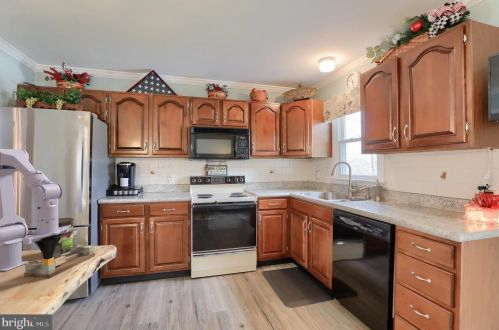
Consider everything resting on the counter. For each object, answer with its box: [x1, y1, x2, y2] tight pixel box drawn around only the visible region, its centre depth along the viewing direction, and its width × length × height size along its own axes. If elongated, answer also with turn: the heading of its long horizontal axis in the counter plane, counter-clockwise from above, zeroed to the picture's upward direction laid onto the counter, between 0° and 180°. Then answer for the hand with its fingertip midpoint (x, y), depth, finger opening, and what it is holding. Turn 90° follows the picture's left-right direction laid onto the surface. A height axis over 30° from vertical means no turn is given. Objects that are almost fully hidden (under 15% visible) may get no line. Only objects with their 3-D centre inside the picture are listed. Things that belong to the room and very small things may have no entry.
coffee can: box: [56, 217, 74, 256], centre depth 105 cm, size 10×10×14 cm
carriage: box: [40, 246, 66, 266], centre depth 88 cm, size 6×4×6 cm, turn 83°
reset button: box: [41, 257, 54, 265], centre depth 83 cm, size 2×2×2 cm
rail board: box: [23, 243, 96, 279], centre depth 92 cm, size 10×20×5 cm, turn 172°
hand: (48, 258), depth 83 cm, fingers closed, pressing on reset button
